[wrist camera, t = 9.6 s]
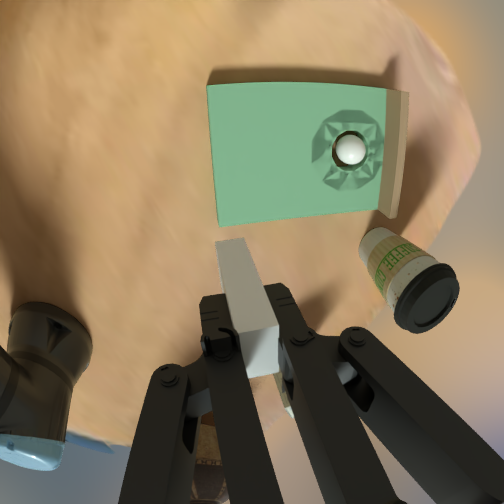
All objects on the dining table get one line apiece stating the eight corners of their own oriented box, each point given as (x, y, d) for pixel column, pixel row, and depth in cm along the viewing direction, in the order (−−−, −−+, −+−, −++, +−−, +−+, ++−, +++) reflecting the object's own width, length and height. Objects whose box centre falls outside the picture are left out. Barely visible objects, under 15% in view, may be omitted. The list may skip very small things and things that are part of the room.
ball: (337, 167, 34) (367, 169, 33) (339, 136, 32) (369, 139, 31) (333, 159, 37) (360, 160, 36) (334, 131, 35) (362, 133, 34)
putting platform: (217, 220, 37) (222, 239, 33) (206, 85, 29) (209, 85, 25) (377, 203, 40) (396, 217, 36) (385, 88, 32) (409, 92, 28)
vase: (240, 397, 57) (275, 535, 32) (239, 436, 67) (265, 543, 41) (128, 403, 53) (130, 543, 27) (148, 442, 62) (156, 550, 37)
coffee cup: (356, 214, 41) (420, 275, 28) (408, 216, 43) (473, 269, 30) (341, 274, 46) (390, 344, 33) (391, 270, 48) (443, 330, 35)
